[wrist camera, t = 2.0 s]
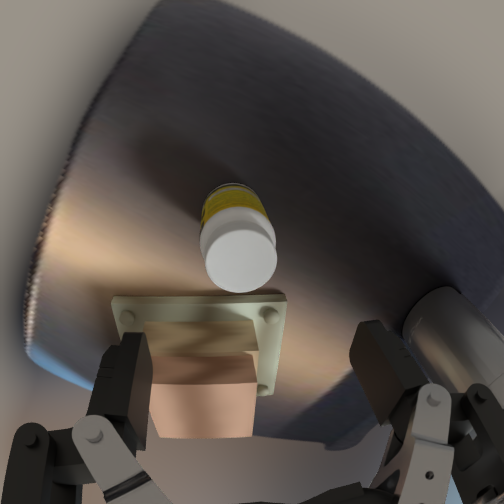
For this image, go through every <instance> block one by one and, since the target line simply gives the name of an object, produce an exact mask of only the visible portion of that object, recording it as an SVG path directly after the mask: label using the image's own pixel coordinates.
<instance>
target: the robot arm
mask: <svg viewBox="0 0 504 504" xmlns="http://www.w3.org/2000/svg"><path fill="white" fill-rule="evenodd" d="M402 334H403V338H404V340H405V341H406V343H407V344H408V346H409V347H410V349H411V350H412V352H413V353H414V355H415V356H416V358H417V359H418V361H419V363H420V364H421V366H422V367H423V369H424V370H425V372H426V373H427V375H428V376H429V378H430V379H431V381H432V382H433V383H429V381H428V380H427V378H426V377H425V375H424V373H423V372H422V370H421V369H420V367H419V366H418V364H417V363H416V361H415V360H414V358H413V357H411V354H410V352H409V351H408V349H406V346H405V345H404V344H403V342H402V341H401V339H400V338H399V337H398V336H396V335H395V334H394V333H392V332H391V331H387V330H386V329H385V327H384V326H383V324H382V323H381V322H380V321H379V320H372V321H364V322H360V323H359V325H358V327H357V330H356V333H355V336H354V339H353V342H352V345H351V348H350V352H349V358H350V363H351V365H352V367H353V369H354V371H355V373H356V375H357V378H358V380H359V382H360V384H361V386H362V388H363V390H364V392H365V394H366V396H367V398H368V401H369V403H370V405H371V407H372V409H373V411H374V413H375V415H376V418H377V420H378V422H379V424H380V426H381V427H382V426H386V425H389V424H391V425H392V427H393V429H392V431H391V433H390V436H389V440H388V443H387V446H386V449H385V453H384V455H383V459H382V462H381V465H380V468H379V470H378V472H377V474H376V476H375V477H374V478H373V480H372V482H371V484H370V486H369V488H362V486H361V483H360V482H357V483H353V484H350V485H346V486H342V487H338V488H335V489H330V490H328V491H326V492H324V493H322V494H320V495H318V496H316V497H313V498H311V499H309V500H307V501H305V502H302V503H299V504H445V500H446V496H447V491H448V487H449V481H450V476H451V475H452V477H453V480H454V482H455V485H456V487H457V490H458V492H459V494H460V497H461V500H462V502H463V504H504V337H503V335H502V334H501V333H500V332H499V331H498V330H497V329H496V328H495V327H494V326H493V325H492V323H491V322H490V321H489V320H488V319H487V318H486V317H485V316H484V315H483V314H482V313H481V312H480V311H479V310H478V309H477V308H476V307H475V306H474V305H473V304H472V303H471V302H470V301H469V300H468V299H467V298H466V297H465V296H464V295H463V294H459V293H458V292H457V291H456V290H455V289H453V288H452V287H440V288H437V289H435V290H433V291H431V292H429V293H428V294H427V295H425V296H424V297H423V298H422V299H421V300H420V301H419V302H417V304H416V305H415V306H414V307H413V308H412V310H411V311H410V313H409V314H408V316H407V318H406V320H405V322H404V325H403V331H402ZM99 367H100V369H99V370H98V373H97V378H96V380H95V384H94V388H93V391H92V395H91V399H90V403H89V407H88V411H87V414H86V416H85V417H83V418H81V419H80V420H78V422H77V423H76V424H75V425H74V427H72V428H68V429H62V430H54V431H47V430H46V429H45V428H44V427H43V426H41V425H40V424H38V423H26V424H24V425H22V426H21V427H19V429H18V430H17V431H16V433H15V435H14V439H13V443H12V447H11V451H10V456H9V460H8V465H7V470H6V475H5V480H4V486H3V493H2V500H1V504H82V487H83V484H89V483H96V482H97V484H98V486H99V487H100V489H101V490H102V492H103V494H104V499H105V501H106V503H107V504H173V503H172V502H171V501H170V500H169V499H168V498H167V496H166V495H165V494H164V493H163V492H162V491H161V489H160V488H159V487H158V486H157V485H156V484H155V483H154V481H153V480H152V479H151V477H150V476H149V475H148V474H147V473H146V472H145V471H144V470H143V468H142V467H141V465H140V464H139V463H138V461H137V460H136V450H142V451H145V449H146V436H147V424H148V413H149V404H150V395H151V387H152V379H153V364H152V359H151V355H150V351H149V346H148V342H147V338H146V334H145V332H124V333H123V336H122V340H121V343H120V346H116V345H111V346H110V347H109V349H108V350H107V351H106V352H105V353H104V354H103V356H102V360H101V363H100V366H99ZM241 504H283V503H270V502H269V503H268V502H253V503H241Z"/></svg>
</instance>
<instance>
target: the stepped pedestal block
mask: <svg viewBox="0 0 504 504" xmlns="http://www.w3.org/2000/svg"><path fill="white" fill-rule="evenodd" d="M111 307H112V311H113V314H114V318H115V322H116V326H117V329H118V333H119V336H120V340H122V336H123V333H124V332H145V334H146V338H147V342H148V346H149V351H150V355H151V359H152V364H153V379H152V387H151V395H150V404H149V411H150V413H151V416H152V419H153V421H154V424H155V427H156V429H157V431H158V434H159V436H160V437H162V438H234V437H250V436H252V430H253V421H254V411H255V402H256V396H266V395H273V392H274V386H275V380H276V374H277V368H278V362H279V355H280V349H281V342H282V336H283V329H284V322H285V315H286V308H287V299H286V296H285V294H270V295H236V296H114V297H113V299H112V301H111Z"/></svg>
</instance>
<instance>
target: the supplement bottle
mask: <svg viewBox="0 0 504 504" xmlns="http://www.w3.org/2000/svg"><path fill="white" fill-rule="evenodd" d="M199 241H200V250H201V254H202V256H203V258H204V260H205V268H206V271H207V274H208V276H209V277H210V279H211V280H212V281H213V282H214V283H215V284H216V285H217V286H218V287H220V288H222V289H224V290H227V291H230V292H236V293H243V292H249V291H252V290H255V289H257V288H259V287H261V286H262V285H264V284H265V283H266V282H267V281H268V280H269V279H270V278H271V276H272V275H273V273H274V271H275V268H276V264H277V254H276V250H275V247H276V237H275V232H274V229H273V227H272V225H271V223H270V221H269V219H268V216H267V214H266V212H265V210H264V208H263V205H262V203H261V201H260V199H259V197H258V196H257V194H256V193H255V192H254V191H253V190H252V189H250V188H249V187H247V186H245V185H242V184H238V183H228V184H224V185H221V186H219V187H217V188H215V189H214V190H213V191H212V192H210V194H209V195H208V196H207V198H206V199H205V201H204V204H203V208H202V217H201V229H200V239H199Z"/></svg>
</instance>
